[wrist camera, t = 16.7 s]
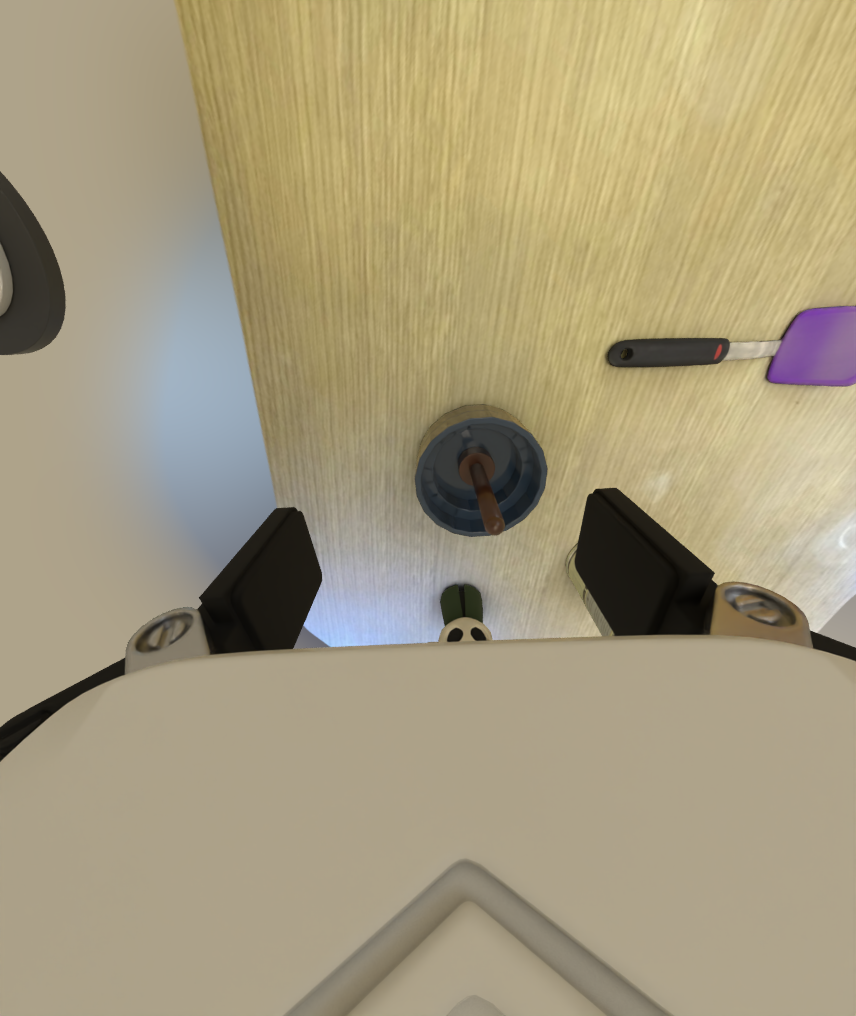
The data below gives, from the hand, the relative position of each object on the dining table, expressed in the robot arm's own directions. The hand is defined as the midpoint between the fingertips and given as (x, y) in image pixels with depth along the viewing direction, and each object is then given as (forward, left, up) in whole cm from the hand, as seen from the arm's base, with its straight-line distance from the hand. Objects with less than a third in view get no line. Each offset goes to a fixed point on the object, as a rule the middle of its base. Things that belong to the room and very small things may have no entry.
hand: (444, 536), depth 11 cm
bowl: (+4, -8, -26) cm, 28 cm away
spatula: (+29, +2, -26) cm, 39 cm away
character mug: (+2, -30, -26) cm, 40 cm away
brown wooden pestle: (+4, -8, -26) cm, 27 cm away
